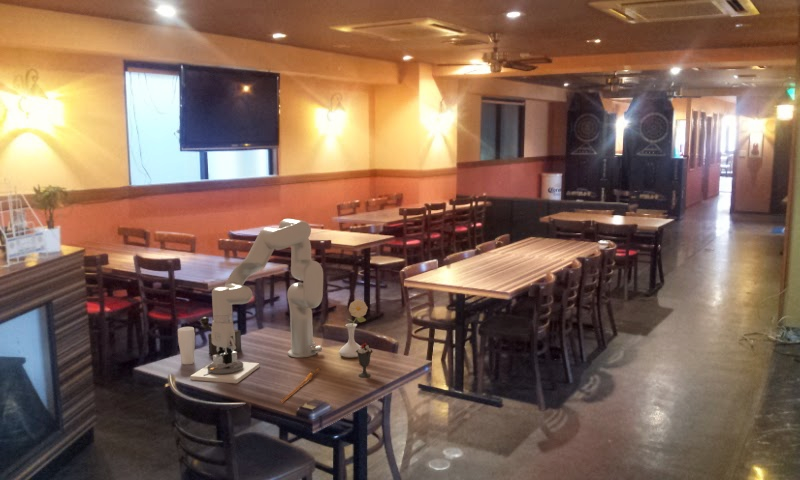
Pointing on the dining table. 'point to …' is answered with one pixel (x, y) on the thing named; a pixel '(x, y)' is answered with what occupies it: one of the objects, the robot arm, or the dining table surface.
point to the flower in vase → (356, 310)
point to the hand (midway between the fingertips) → (225, 361)
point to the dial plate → (227, 378)
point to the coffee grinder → (212, 347)
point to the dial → (221, 367)
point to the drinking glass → (186, 344)
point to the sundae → (364, 358)
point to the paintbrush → (302, 383)
